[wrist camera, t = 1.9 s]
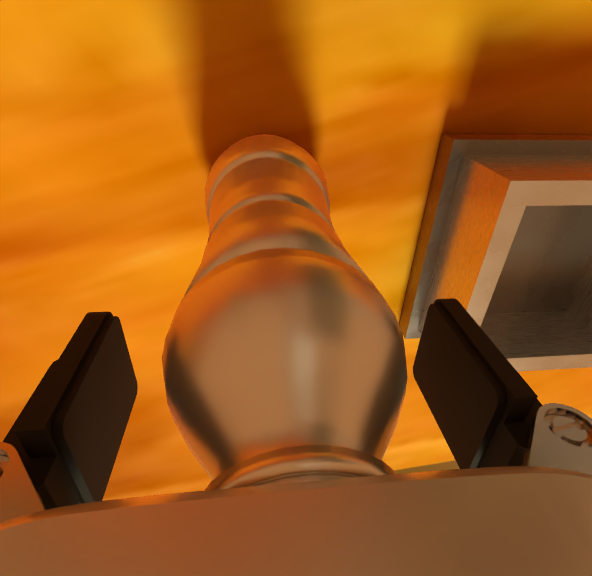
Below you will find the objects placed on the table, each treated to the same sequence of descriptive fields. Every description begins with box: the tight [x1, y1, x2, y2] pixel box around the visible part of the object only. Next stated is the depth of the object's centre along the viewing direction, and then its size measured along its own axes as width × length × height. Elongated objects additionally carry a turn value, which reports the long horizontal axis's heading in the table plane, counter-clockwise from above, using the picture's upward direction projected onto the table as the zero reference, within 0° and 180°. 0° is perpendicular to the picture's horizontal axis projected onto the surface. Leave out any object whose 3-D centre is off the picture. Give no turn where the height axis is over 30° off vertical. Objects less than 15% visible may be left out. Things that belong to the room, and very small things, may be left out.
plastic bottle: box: [162, 134, 407, 491], centre depth 14 cm, size 6×7×20 cm
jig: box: [399, 134, 592, 371], centre depth 24 cm, size 14×14×6 cm
